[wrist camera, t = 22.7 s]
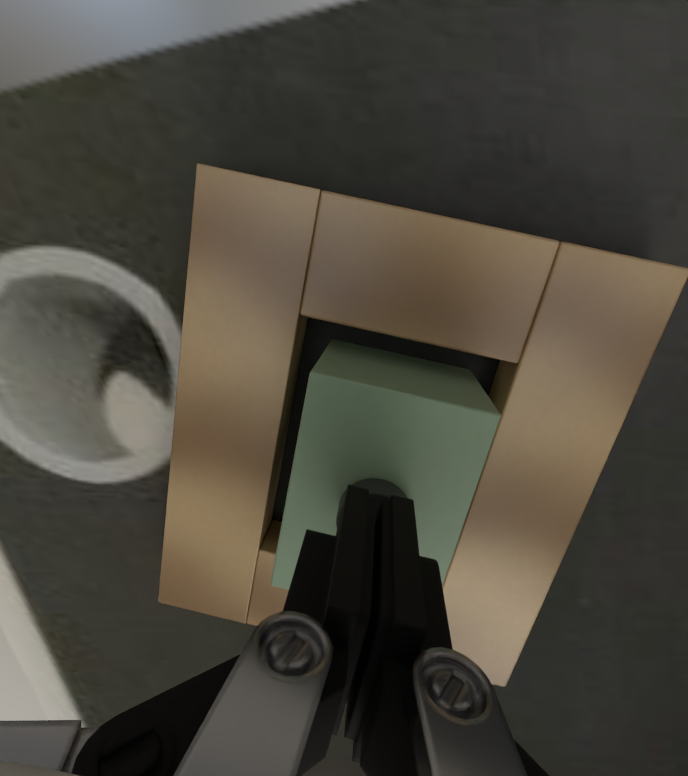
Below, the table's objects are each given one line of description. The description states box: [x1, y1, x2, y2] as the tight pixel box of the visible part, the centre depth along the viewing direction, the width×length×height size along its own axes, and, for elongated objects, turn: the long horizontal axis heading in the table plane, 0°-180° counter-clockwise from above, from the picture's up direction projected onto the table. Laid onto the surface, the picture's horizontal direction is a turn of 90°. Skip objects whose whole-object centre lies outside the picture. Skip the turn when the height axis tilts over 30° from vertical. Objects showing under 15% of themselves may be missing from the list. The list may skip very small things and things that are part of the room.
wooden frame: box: [158, 163, 688, 687], centre depth 16 cm, size 16×14×2 cm
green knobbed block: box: [271, 339, 501, 590], centre depth 14 cm, size 7×5×5 cm
